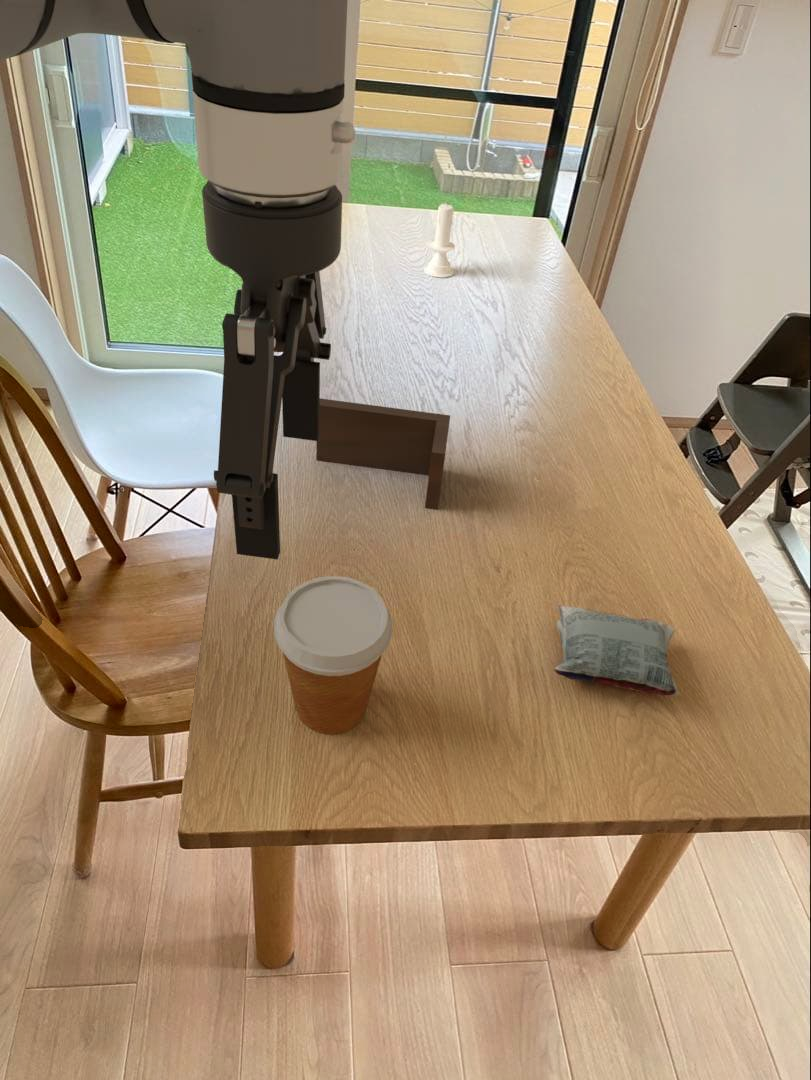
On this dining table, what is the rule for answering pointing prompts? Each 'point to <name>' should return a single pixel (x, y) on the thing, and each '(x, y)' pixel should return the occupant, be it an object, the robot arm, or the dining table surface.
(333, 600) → the disposable coffee cup
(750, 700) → the dining table surface
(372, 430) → the corner
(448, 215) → the candle
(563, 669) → the packaged food
